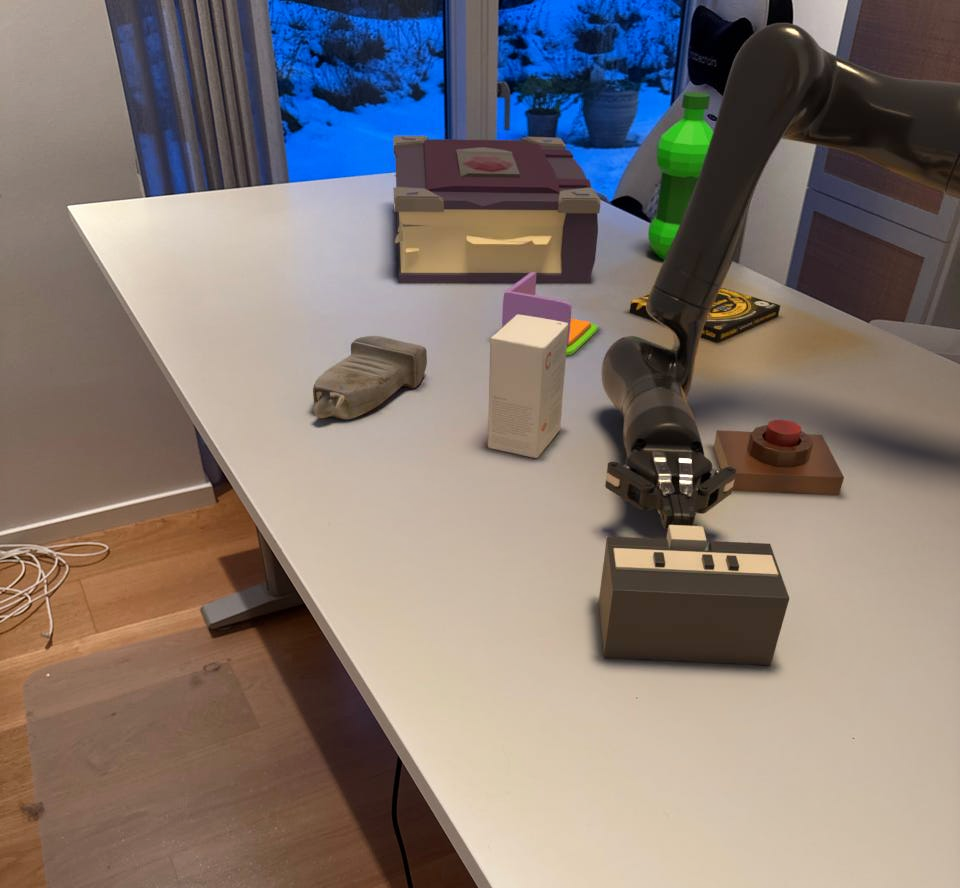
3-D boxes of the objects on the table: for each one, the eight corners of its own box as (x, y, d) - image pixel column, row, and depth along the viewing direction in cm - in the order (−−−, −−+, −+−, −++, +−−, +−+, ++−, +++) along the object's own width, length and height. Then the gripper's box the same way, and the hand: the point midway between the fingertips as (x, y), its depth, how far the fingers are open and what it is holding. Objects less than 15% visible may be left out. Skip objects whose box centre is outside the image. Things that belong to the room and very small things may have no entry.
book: (562, 209, 189) (568, 130, 181) (602, 285, 154) (612, 192, 146) (394, 208, 187) (391, 128, 178) (395, 285, 152) (393, 190, 143)
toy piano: (753, 608, 86) (772, 535, 81) (770, 665, 80) (792, 590, 75) (598, 601, 86) (607, 528, 82) (603, 657, 80) (614, 582, 75)
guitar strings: (719, 330, 135) (630, 301, 144) (717, 342, 136) (629, 312, 145) (780, 305, 144) (693, 278, 153) (777, 316, 145) (691, 289, 154)
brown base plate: (817, 452, 110) (826, 420, 108) (838, 495, 103) (848, 462, 100) (713, 447, 111) (719, 415, 108) (727, 490, 103) (734, 457, 100)
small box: (511, 420, 115) (516, 312, 107) (561, 430, 113) (570, 321, 105) (485, 448, 109) (488, 336, 101) (537, 460, 107) (545, 347, 99)
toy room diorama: (491, 341, 135) (492, 292, 130) (524, 314, 143) (527, 267, 139) (570, 357, 131) (574, 307, 126) (600, 329, 139) (605, 281, 135)
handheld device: (284, 418, 114) (280, 381, 111) (372, 361, 128) (370, 327, 125) (352, 436, 111) (350, 398, 108) (435, 375, 125) (435, 341, 122)
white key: (698, 549, 85) (703, 525, 83) (702, 563, 83) (706, 540, 81) (664, 547, 85) (668, 524, 83) (667, 562, 83) (671, 538, 82)
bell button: (793, 434, 106) (797, 420, 105) (801, 449, 103) (804, 434, 102) (761, 433, 106) (764, 418, 105) (767, 448, 103) (771, 433, 102)
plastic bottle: (644, 264, 164) (666, 98, 148) (643, 246, 172) (663, 87, 156) (703, 268, 163) (731, 102, 147) (699, 249, 171) (725, 90, 155)
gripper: (601, 401, 97) (611, 485, 83) (731, 407, 97) (763, 492, 83) (593, 467, 101) (602, 557, 88) (718, 473, 101) (746, 564, 88)
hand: (680, 526), depth 85 cm, fingers closed
